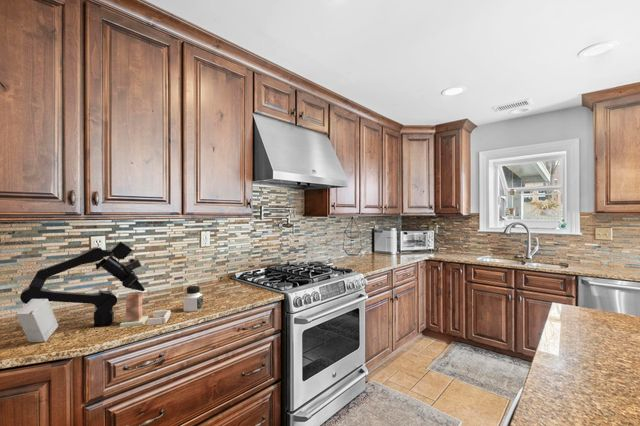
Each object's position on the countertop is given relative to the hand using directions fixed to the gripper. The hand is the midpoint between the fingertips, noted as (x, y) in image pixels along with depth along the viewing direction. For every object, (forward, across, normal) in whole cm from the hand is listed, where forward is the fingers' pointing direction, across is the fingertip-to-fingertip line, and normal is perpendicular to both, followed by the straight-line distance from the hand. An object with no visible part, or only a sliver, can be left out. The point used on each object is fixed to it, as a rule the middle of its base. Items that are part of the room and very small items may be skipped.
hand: (142, 288), depth 146 cm
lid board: (+7, -6, +12) cm, 15 cm away
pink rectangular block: (+6, -6, +12) cm, 14 cm away
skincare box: (-16, -5, +33) cm, 37 cm away
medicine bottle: (+26, -2, -6) cm, 26 cm away
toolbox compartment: (+14, -9, +6) cm, 17 cm away
